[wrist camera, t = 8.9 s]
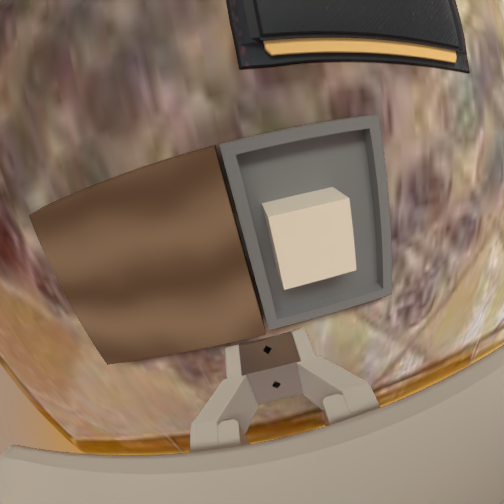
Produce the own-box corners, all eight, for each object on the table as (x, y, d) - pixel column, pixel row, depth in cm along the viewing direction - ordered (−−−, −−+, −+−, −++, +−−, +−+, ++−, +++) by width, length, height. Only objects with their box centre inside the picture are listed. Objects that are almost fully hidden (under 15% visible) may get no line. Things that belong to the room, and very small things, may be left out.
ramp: (42, 207, 19) (28, 215, 17) (215, 144, 19) (214, 147, 17) (112, 349, 25) (107, 364, 23) (262, 318, 25) (265, 334, 23)
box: (219, 143, 19) (219, 145, 17) (367, 114, 19) (378, 115, 17) (266, 318, 25) (269, 330, 23) (383, 284, 24) (391, 294, 23)
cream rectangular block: (261, 203, 20) (268, 217, 17) (332, 186, 20) (349, 197, 17) (276, 268, 22) (284, 289, 20) (341, 251, 22) (356, 270, 19)
